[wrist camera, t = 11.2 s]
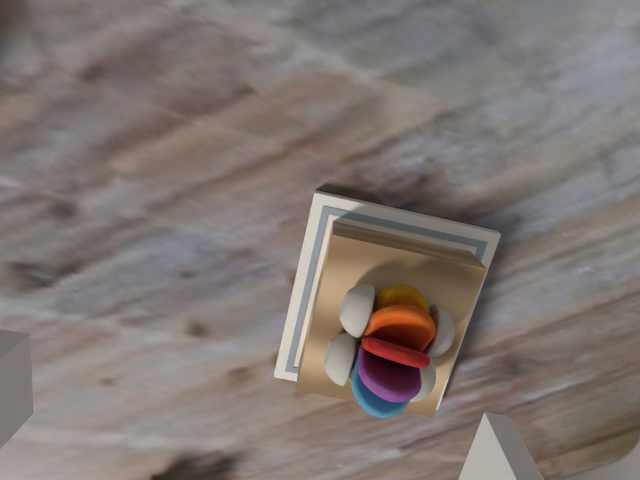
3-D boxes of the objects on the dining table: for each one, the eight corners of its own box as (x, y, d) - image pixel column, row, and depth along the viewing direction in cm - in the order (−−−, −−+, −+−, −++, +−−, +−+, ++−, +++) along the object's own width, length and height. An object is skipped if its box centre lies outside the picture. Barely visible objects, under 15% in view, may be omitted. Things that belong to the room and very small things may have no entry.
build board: (315, 189, 37) (314, 193, 36) (496, 230, 38) (501, 234, 37) (275, 369, 43) (273, 377, 42) (434, 401, 44) (437, 410, 42)
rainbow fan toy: (456, 291, 34) (488, 340, 27) (414, 393, 37) (433, 460, 30) (351, 262, 34) (358, 304, 27) (317, 368, 37) (314, 430, 30)
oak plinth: (332, 220, 37) (333, 234, 33) (470, 251, 38) (486, 268, 34) (298, 363, 41) (295, 389, 37) (423, 388, 42) (433, 417, 38)
